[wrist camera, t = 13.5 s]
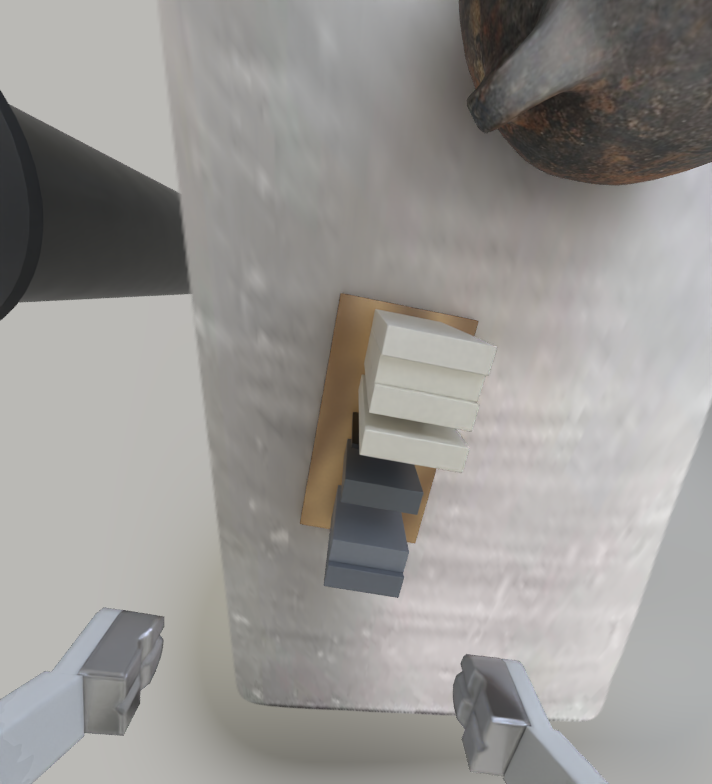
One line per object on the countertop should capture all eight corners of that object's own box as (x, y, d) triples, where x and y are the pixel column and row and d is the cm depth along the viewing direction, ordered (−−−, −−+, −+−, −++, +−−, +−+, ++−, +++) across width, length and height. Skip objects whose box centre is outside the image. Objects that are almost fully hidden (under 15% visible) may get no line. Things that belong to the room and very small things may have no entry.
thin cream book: (358, 390, 33) (359, 455, 20) (361, 373, 32) (364, 429, 20) (422, 402, 33) (462, 473, 21) (427, 386, 33) (470, 448, 20)
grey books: (330, 519, 37) (323, 586, 28) (347, 438, 34) (344, 486, 26) (389, 529, 37) (398, 598, 29) (409, 449, 34) (426, 500, 26)
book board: (301, 518, 38) (299, 524, 37) (341, 293, 31) (340, 293, 30) (413, 537, 38) (415, 543, 37) (475, 319, 32) (478, 321, 31)
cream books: (364, 363, 32) (368, 412, 20) (375, 308, 31) (387, 324, 18) (427, 375, 32) (472, 431, 20) (441, 322, 31) (498, 346, 19)
